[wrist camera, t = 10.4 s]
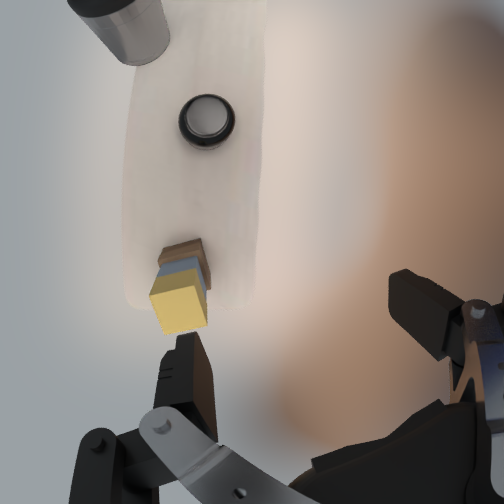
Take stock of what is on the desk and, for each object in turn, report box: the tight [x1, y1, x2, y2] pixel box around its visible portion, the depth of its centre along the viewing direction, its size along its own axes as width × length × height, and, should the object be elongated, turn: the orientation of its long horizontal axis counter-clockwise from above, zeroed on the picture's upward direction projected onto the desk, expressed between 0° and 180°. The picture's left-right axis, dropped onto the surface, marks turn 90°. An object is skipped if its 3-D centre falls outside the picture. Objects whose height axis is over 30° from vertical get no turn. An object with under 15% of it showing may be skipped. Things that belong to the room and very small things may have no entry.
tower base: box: [158, 239, 211, 290], centre depth 40 cm, size 6×6×6 cm
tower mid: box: [157, 256, 206, 299], centre depth 35 cm, size 5×5×5 cm
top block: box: [149, 268, 207, 335], centre depth 31 cm, size 5×5×5 cm
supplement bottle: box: [178, 94, 235, 150], centre depth 32 cm, size 7×7×12 cm
